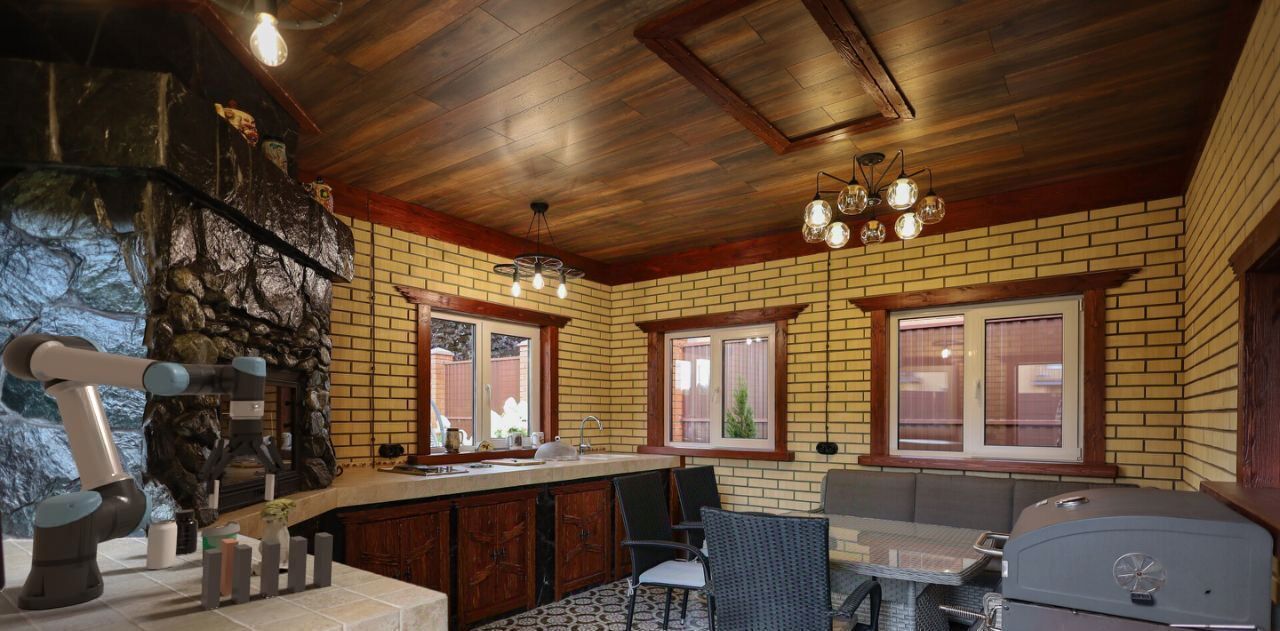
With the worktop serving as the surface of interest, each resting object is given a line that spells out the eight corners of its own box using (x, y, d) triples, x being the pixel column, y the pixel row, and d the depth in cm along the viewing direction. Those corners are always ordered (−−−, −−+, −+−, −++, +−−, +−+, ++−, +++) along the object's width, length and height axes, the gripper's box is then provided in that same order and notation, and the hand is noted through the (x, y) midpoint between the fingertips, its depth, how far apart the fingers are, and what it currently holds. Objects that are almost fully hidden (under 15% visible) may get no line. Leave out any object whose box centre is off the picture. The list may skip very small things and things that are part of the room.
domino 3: (237, 604, 155) (240, 549, 156) (231, 599, 159) (234, 545, 160) (249, 602, 157) (252, 547, 158) (242, 597, 161) (245, 543, 162)
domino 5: (294, 593, 164) (296, 540, 165) (287, 588, 167) (289, 537, 168) (305, 591, 165) (307, 539, 166) (297, 586, 169) (299, 536, 170)
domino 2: (224, 596, 161) (227, 543, 162) (218, 591, 165) (221, 539, 166) (235, 594, 163) (238, 541, 164) (229, 589, 167) (232, 538, 168)
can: (180, 564, 190) (183, 519, 191) (162, 570, 184) (165, 524, 185) (158, 563, 191) (161, 519, 192) (139, 570, 184) (142, 523, 186)
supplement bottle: (171, 551, 205) (173, 509, 206) (198, 549, 208) (200, 508, 209) (166, 556, 199) (169, 513, 200) (194, 554, 202) (197, 511, 203)
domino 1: (206, 610, 151) (209, 553, 152) (200, 605, 155) (204, 549, 156) (219, 608, 153) (222, 552, 154) (213, 602, 156) (216, 548, 158)
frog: (309, 569, 185) (312, 499, 186) (255, 578, 176) (259, 504, 178) (297, 560, 194) (300, 494, 196) (245, 568, 185) (249, 499, 187)
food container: (221, 567, 187) (223, 529, 188) (198, 567, 187) (201, 529, 188) (248, 555, 200) (249, 520, 200) (226, 555, 200) (228, 520, 201)
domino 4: (266, 598, 159) (269, 545, 161) (259, 593, 163) (262, 541, 164) (278, 596, 161) (280, 543, 162) (270, 591, 165) (273, 539, 166)
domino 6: (320, 587, 168) (322, 536, 169) (313, 583, 171) (315, 533, 173) (331, 585, 169) (333, 535, 171) (323, 581, 173) (325, 532, 174)
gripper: (200, 420, 163) (195, 513, 161) (302, 416, 184) (298, 498, 182) (185, 419, 167) (179, 509, 165) (286, 415, 188) (282, 495, 186)
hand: (242, 504), depth 173 cm, fingers open, 13 cm apart
